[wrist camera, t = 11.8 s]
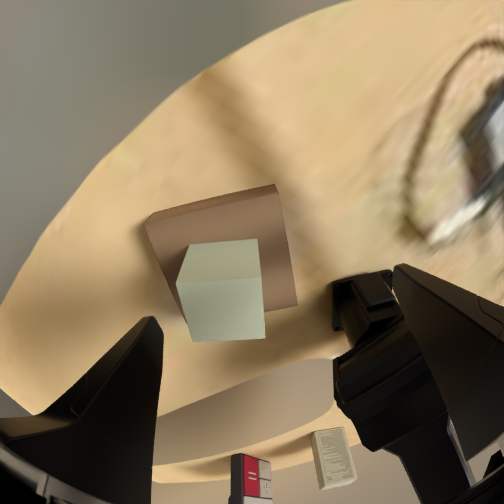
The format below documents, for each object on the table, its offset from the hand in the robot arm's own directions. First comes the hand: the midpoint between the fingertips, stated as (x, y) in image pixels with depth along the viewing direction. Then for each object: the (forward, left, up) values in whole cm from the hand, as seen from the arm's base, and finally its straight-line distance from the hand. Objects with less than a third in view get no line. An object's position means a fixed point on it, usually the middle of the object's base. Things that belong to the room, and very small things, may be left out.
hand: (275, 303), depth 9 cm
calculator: (-58, +11, -13) cm, 60 cm away
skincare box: (-47, -6, -13) cm, 49 cm away
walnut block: (-5, +3, -14) cm, 15 cm away
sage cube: (-5, +3, -11) cm, 12 cm away
